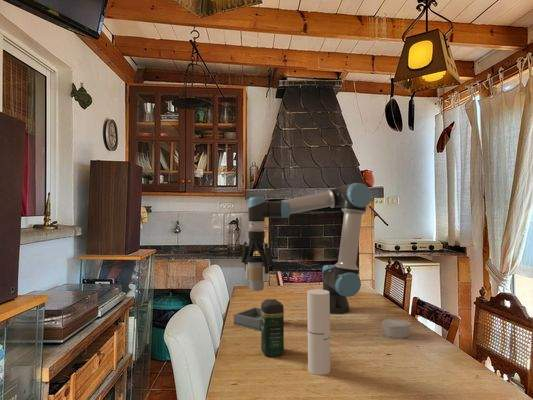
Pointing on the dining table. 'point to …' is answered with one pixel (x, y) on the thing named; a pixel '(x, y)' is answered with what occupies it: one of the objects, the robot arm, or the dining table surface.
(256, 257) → the coffee cup
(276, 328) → the coffee jar
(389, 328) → the ramekin
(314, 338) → the cylindrical container
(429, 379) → the dining table surface
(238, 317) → the tray
